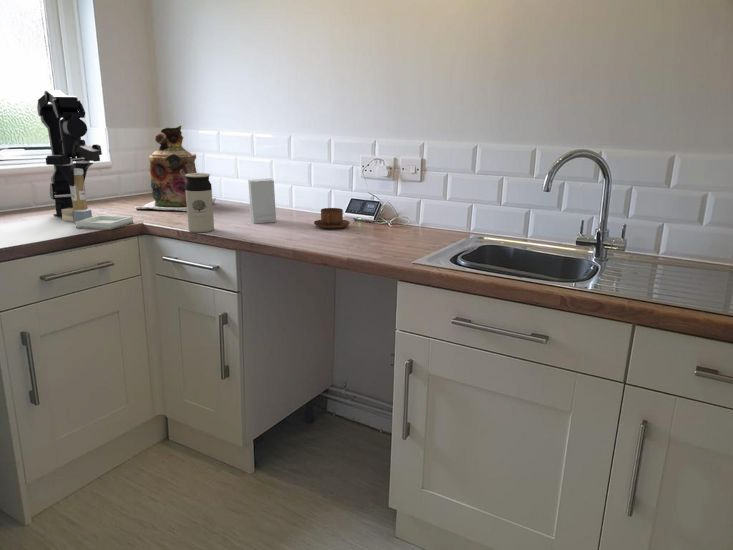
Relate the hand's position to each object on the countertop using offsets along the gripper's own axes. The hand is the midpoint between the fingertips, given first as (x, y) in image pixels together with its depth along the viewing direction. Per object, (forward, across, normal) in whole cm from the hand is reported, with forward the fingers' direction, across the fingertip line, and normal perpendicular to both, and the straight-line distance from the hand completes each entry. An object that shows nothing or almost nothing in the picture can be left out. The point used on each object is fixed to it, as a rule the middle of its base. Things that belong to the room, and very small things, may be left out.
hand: (77, 185), depth 186 cm
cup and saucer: (+14, +18, -82) cm, 85 cm away
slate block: (+13, +6, +4) cm, 15 cm away
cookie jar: (+13, +44, -10) cm, 47 cm away
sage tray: (+13, +2, -7) cm, 15 cm away
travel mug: (+14, +2, -42) cm, 44 cm away
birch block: (+13, +7, +10) cm, 18 cm away
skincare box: (+14, +21, -56) cm, 61 cm away
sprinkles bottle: (+8, 0, 0) cm, 8 cm away
